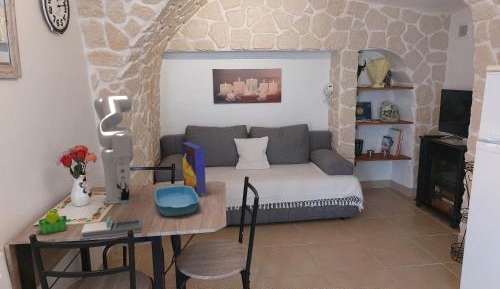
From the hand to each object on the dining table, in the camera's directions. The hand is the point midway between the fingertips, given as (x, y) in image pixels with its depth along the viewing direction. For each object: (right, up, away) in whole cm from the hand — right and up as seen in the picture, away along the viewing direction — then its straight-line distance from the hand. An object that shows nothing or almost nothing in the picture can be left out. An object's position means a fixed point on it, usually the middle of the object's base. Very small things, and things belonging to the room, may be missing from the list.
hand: (125, 198), depth 161 cm
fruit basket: (-34, -16, +1) cm, 37 cm away
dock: (-6, -15, +1) cm, 16 cm away
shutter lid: (-12, -13, -1) cm, 18 cm away
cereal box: (+23, -5, +55) cm, 60 cm away
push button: (0, -2, 0) cm, 2 cm away
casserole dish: (+17, -10, +31) cm, 37 cm away
